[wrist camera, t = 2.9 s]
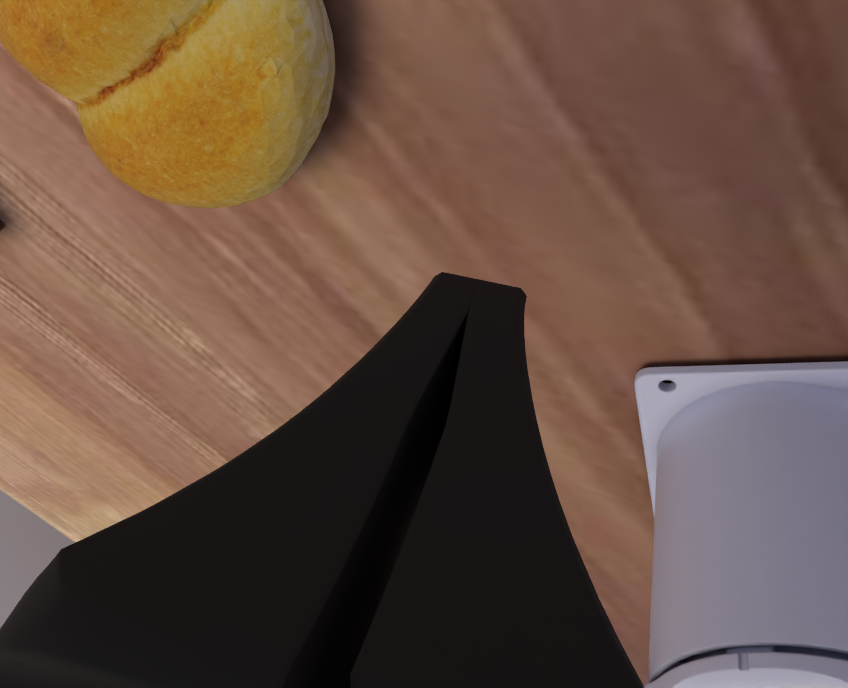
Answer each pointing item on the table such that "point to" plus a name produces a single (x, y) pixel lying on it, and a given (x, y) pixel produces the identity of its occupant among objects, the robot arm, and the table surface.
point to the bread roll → (185, 87)
